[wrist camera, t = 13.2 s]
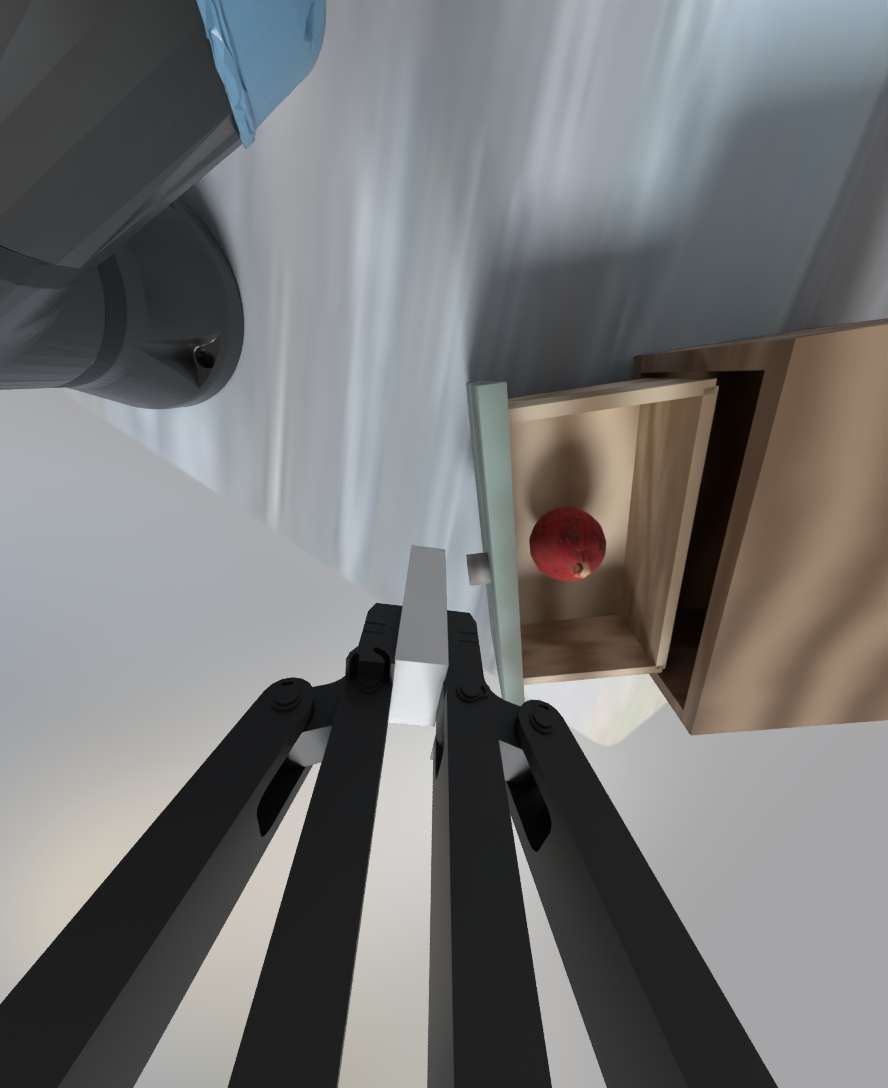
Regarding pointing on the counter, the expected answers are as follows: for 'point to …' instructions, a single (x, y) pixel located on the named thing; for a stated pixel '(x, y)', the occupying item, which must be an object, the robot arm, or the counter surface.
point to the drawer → (610, 498)
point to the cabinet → (785, 534)
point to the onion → (567, 544)
